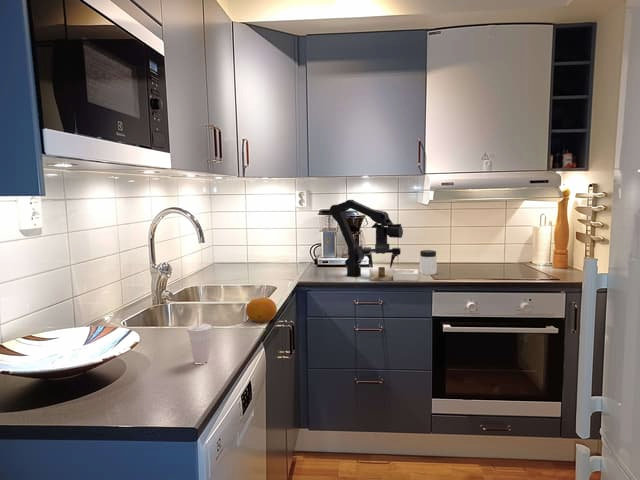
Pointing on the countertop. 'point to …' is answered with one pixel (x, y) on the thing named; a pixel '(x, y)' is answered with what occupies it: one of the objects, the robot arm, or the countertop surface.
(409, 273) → the dish
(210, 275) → the countertop surface
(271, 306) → the fruit
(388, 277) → the lid
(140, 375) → the countertop surface
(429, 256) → the jar
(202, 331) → the smoothie
